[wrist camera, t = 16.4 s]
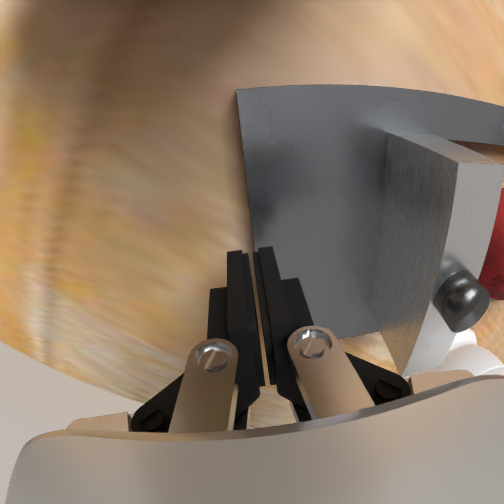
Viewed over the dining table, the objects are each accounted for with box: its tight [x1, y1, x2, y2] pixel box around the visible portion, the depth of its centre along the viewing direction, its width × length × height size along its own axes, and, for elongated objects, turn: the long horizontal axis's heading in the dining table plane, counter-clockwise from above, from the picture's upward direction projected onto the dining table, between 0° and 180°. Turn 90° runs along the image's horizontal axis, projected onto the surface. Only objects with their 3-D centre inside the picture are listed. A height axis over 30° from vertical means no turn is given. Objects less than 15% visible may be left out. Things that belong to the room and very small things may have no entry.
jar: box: [403, 328, 504, 378], centre depth 16 cm, size 11×10×15 cm
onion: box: [478, 188, 504, 300], centre depth 12 cm, size 6×6×8 cm
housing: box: [236, 85, 504, 339], centre depth 12 cm, size 22×14×6 cm, turn 96°
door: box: [369, 132, 504, 377], centre depth 11 cm, size 2×10×6 cm, turn 6°
